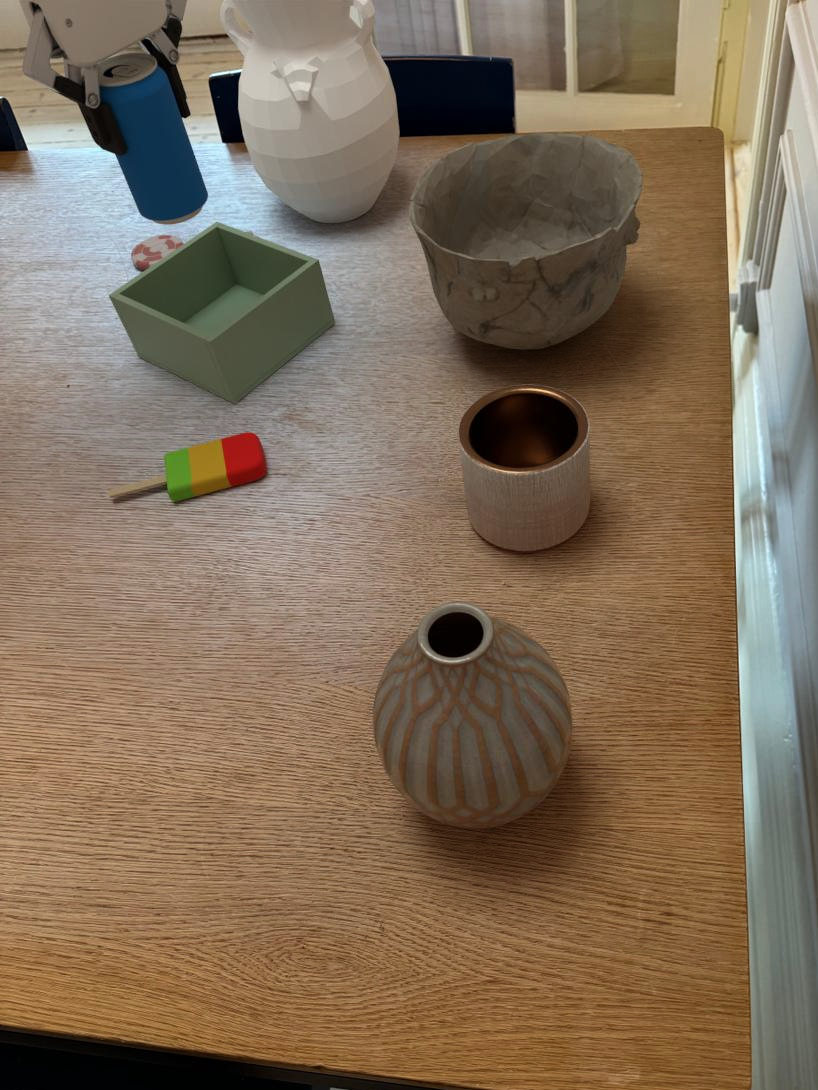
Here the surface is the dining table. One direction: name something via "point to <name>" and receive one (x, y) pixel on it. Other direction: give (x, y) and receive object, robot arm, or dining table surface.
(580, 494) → the planter
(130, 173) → the beverage can
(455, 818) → the vase
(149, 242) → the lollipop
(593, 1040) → the dining table surface
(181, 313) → the bin
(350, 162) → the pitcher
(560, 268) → the bowl
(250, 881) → the dining table surface
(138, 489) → the popsicle
